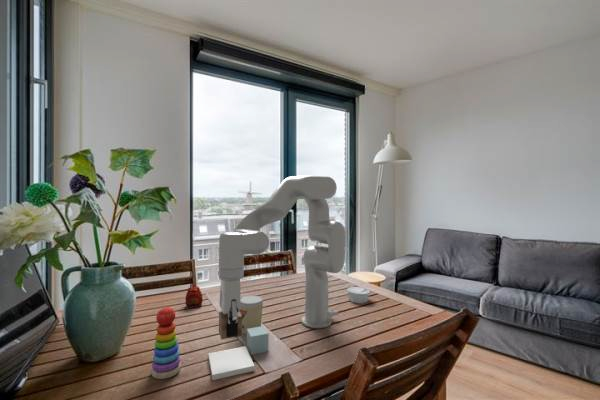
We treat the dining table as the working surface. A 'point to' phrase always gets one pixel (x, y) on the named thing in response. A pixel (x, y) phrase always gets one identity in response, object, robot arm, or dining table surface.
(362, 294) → the ramekin
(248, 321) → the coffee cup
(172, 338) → the stacking toy
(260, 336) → the teal block
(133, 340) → the dining table surface
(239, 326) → the walnut block
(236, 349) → the base board
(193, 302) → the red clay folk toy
